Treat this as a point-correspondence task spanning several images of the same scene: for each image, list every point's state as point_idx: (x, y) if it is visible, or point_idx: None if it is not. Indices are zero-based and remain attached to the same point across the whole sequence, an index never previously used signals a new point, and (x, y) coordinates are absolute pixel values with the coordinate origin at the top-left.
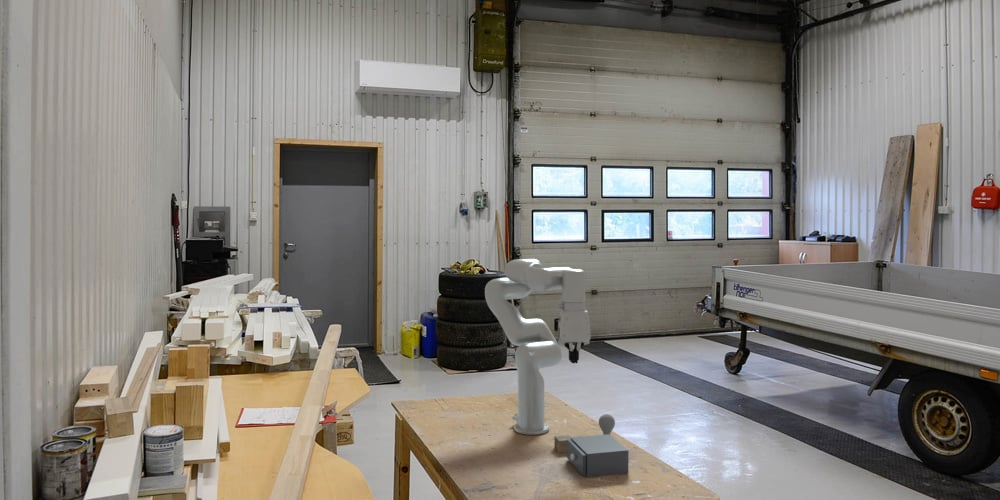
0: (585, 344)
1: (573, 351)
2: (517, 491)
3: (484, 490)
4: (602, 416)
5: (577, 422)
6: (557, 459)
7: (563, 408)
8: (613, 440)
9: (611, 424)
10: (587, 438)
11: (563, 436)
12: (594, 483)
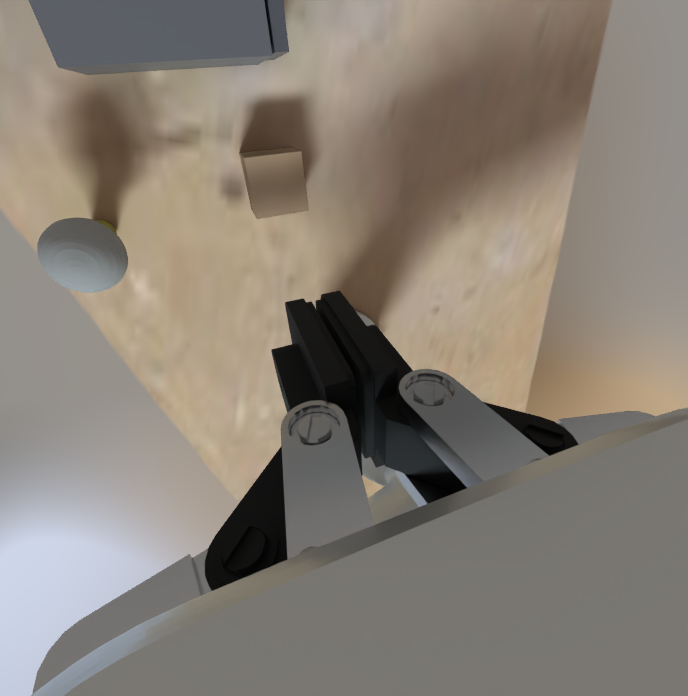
0: (169, 575)
1: (390, 369)
2: None
3: None
4: (101, 259)
5: (206, 406)
6: (306, 76)
7: (236, 484)
8: None
9: (56, 222)
10: (188, 14)
11: (278, 201)
12: None
